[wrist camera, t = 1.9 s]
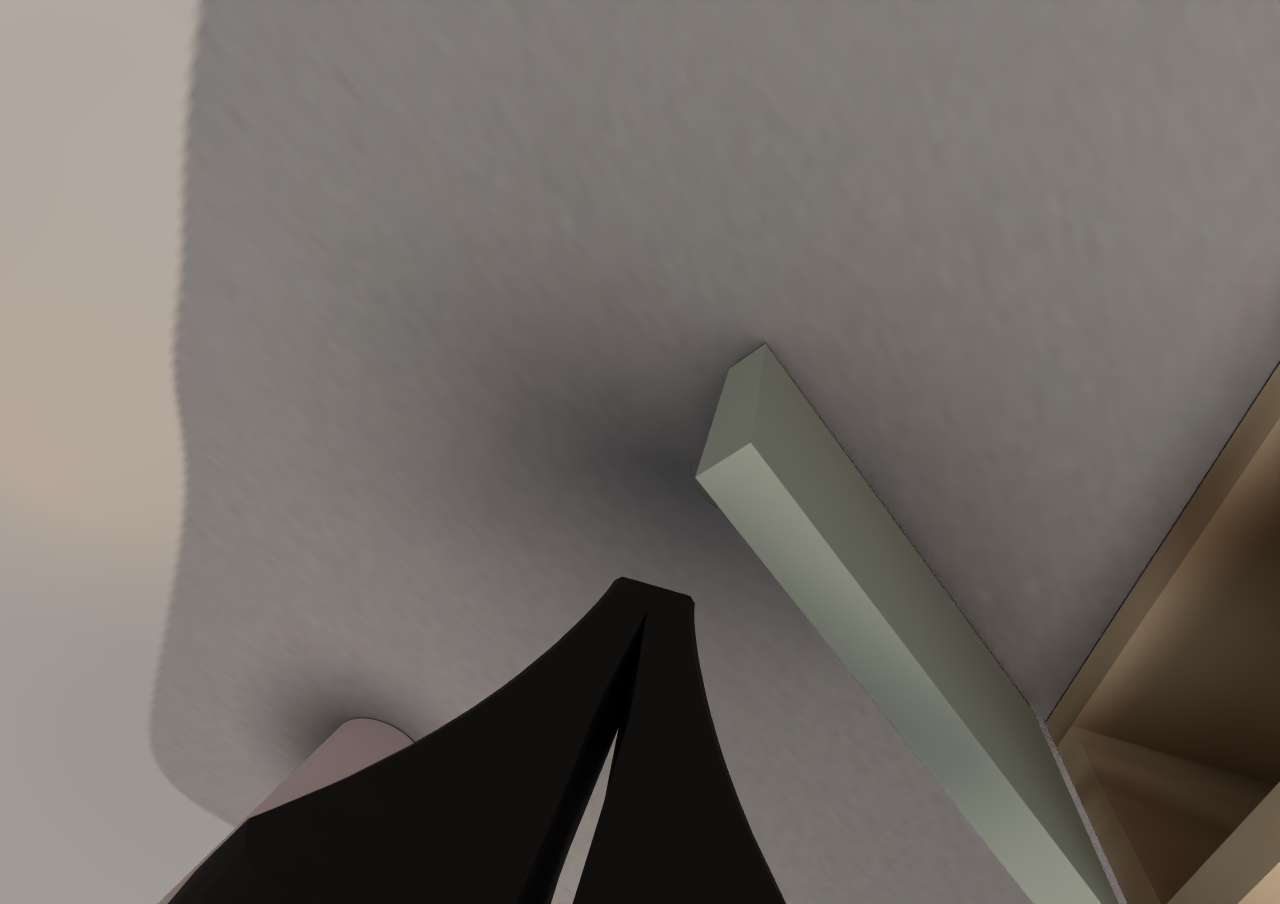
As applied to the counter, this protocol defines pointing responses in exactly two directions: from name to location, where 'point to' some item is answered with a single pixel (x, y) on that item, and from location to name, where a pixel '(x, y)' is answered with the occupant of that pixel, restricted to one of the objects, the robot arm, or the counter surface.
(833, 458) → the door
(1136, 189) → the counter surface
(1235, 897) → the wooden box
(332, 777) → the smoothie
